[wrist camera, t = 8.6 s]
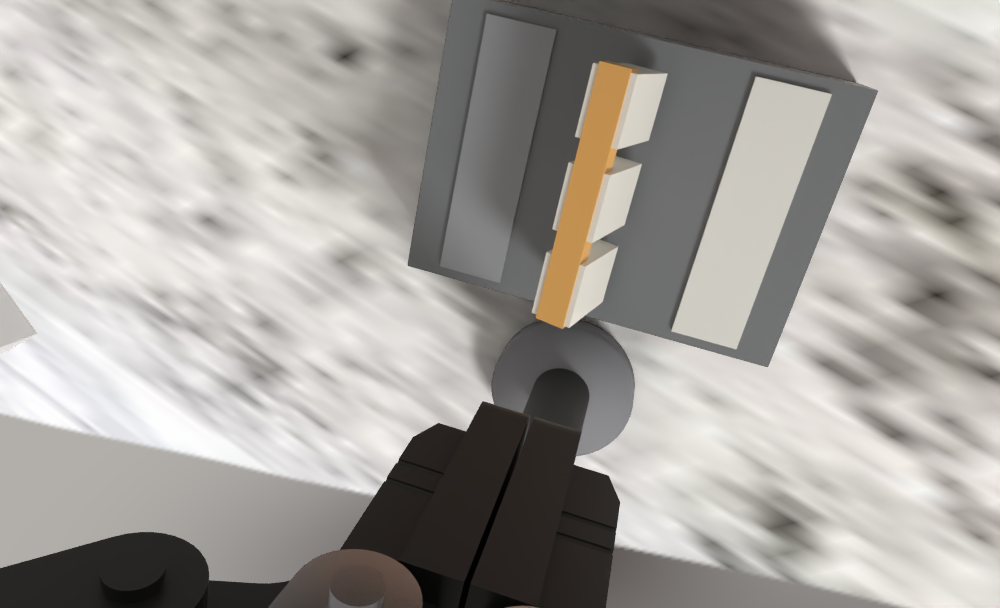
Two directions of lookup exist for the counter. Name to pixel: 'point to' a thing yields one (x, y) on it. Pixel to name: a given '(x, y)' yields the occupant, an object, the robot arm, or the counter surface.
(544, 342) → the stand
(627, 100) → the breaker paddles
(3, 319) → the grater
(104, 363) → the counter surface
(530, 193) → the breaker panel
